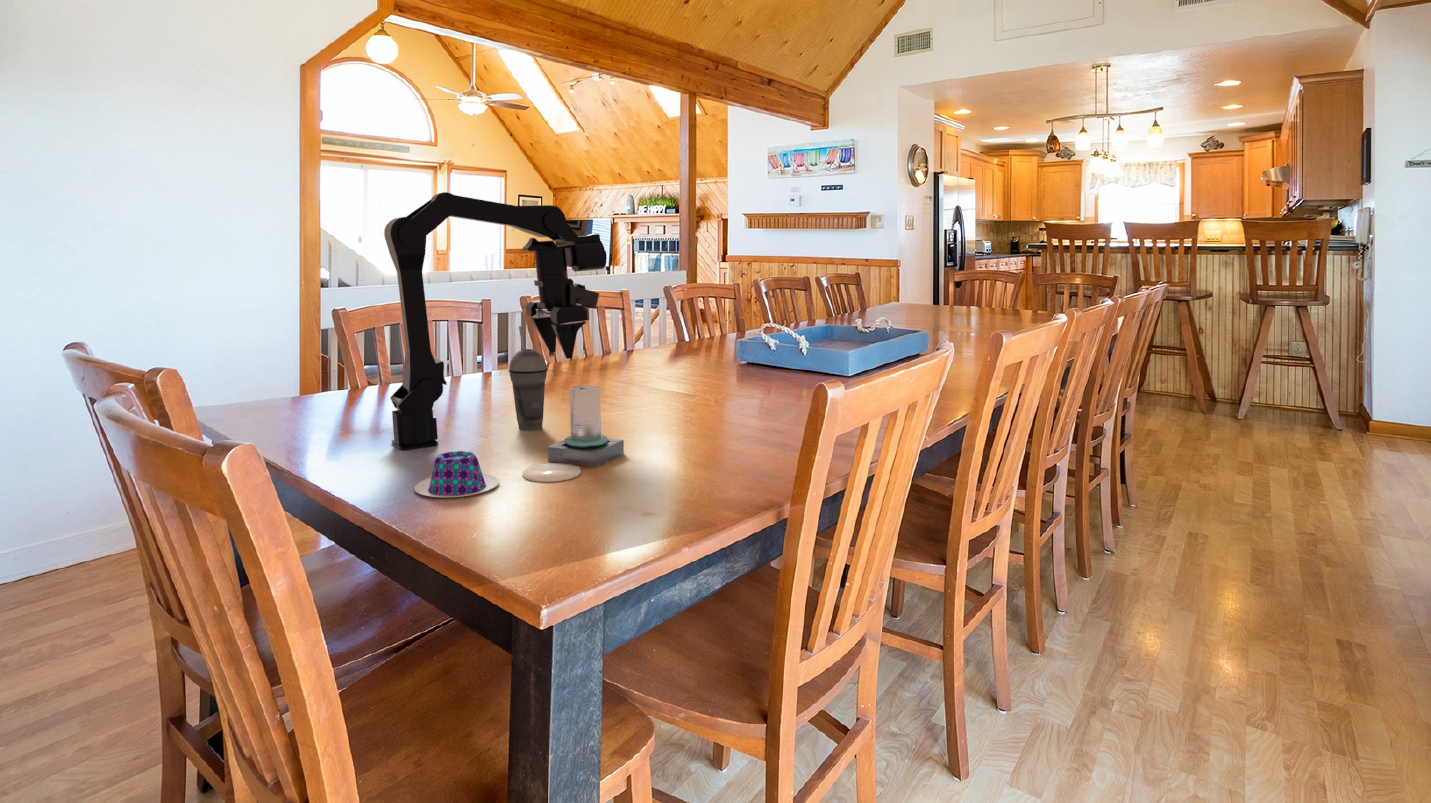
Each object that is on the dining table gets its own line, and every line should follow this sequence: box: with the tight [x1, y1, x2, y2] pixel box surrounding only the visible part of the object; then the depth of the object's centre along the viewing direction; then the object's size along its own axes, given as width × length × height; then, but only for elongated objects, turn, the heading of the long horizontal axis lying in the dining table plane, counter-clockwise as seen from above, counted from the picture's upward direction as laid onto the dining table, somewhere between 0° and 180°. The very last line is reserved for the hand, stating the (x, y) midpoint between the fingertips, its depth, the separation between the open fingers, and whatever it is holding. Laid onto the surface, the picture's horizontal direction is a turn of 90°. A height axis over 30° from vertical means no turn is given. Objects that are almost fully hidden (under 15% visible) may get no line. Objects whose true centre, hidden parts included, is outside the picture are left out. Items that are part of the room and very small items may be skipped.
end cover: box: [564, 385, 609, 449], centre depth 132 cm, size 7×7×12 cm
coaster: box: [522, 462, 582, 483], centre depth 124 cm, size 9×9×1 cm
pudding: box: [414, 450, 500, 498], centre depth 117 cm, size 12×12×5 cm
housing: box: [547, 437, 625, 468], centre depth 133 cm, size 9×9×2 cm
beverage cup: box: [508, 325, 548, 432], centre depth 152 cm, size 7×7×20 cm
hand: (560, 355), depth 152 cm, fingers open, 9 cm apart
